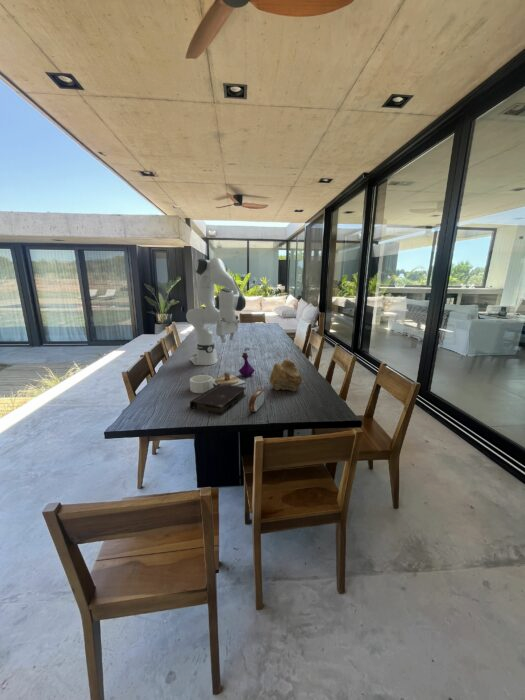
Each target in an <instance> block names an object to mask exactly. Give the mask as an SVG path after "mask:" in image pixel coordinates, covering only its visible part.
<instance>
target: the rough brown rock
mask: <svg viewBox="0 0 525 700" xmlns="http://www.w3.org/2000/svg"><path fill="white" fill-rule="evenodd" d="M302 381H303V377H302V374H300V373H299V371H298V368H297V367H296V364H295V363H294V361H292V360H291V359H288V358H285V359H284V360H283V361H282V363H281V364H279V363H278V362H275V363H274V365H273V368H272V370H271V373H270V377H269V384H272V386H273V389H274V391H280V390H282V391H286V390H288V391H291V392H296V391H297V390H298V388H299V387H300V385H301V384H302Z"/></svg>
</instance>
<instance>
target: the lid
mask: <svg viewBox="0 0 525 700" xmlns="http://www.w3.org/2000/svg"><path fill="white" fill-rule="evenodd" d="M230 374H231V373H230V372H228V371H226V372H224V375H222V376H221V375H220V376H218V377H216V378H214V379H215V382H216V383H217V384H225V385H233V384H236V383H238V382H239V379H240V378H239V377H237V376H236V375H233V376H230Z"/></svg>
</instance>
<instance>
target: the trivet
mask: <svg viewBox="0 0 525 700" xmlns="http://www.w3.org/2000/svg"><path fill="white" fill-rule="evenodd" d="M230 376H234V375H233V374H231V375H230ZM215 379H216V378H213V385H214V386H216V385H217V383H216V382H215ZM244 384H247V382H246V381H244V380H243V379H241V378H239V382H238V383H236V384H233V385H234V386H240V385H244Z"/></svg>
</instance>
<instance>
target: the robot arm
mask: <svg viewBox="0 0 525 700" xmlns="http://www.w3.org/2000/svg"><path fill="white" fill-rule="evenodd" d="M194 270H195V273H196V274H198V275H200V277H199V280H198V281H199V282H198V287H197V301H198V302H199V303H200V304H202V305H204V306H205V308H197V307H196V308H191V309H188V310H187V312H186V313H185V317H186V320H187V323H189V324H190V325H191V326H192V327H193V328H194V329H195V332H196V336H197V337H196V338H197V344H196V349H195V351H193V353H192V354H191V355H192V357H191V358H189V360H190V361H191V362H192V363H193V365H194V366H196V365H197V366H211V365H215V364H217V362H218V361H219V359H218V357H217V356H218V355H217V354H218V353H217V350H216V349H215V347H216V345H215V342H214V340H215V339H214V338H215V337H214V332H213V331H212V330H211V329H209V328H207V326H206V325H211V326H212V325H213V326H214V325H216V327H215V334H216V336H218V337H220V340H221V343H222V344H225V343H226V342H227V341H226V339H225V337H226V336H227V335H229V341H234V336H235V333H236V332H238V329H239V321H238V320H239V316H238V315H237V314H236V312H241V311H243V310H244V309H245V308H246V305H247V303H246V298H245V296H244V295H243V294H242V292H241V290H240V287H239V285H238V283H237V281H236V280H235V278H234V277H233V276H232V275H230V274H229V273H228V267H227V265H226V264H225V263H224V261H223V260H222V259H221V258H219V257H213V258H211V259H205V258H199V259H197V260H196V261H195V265H194ZM215 285H216V286H219V287H223V288H221V289H220V290H219V294H218V295H216V296H215Z"/></svg>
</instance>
